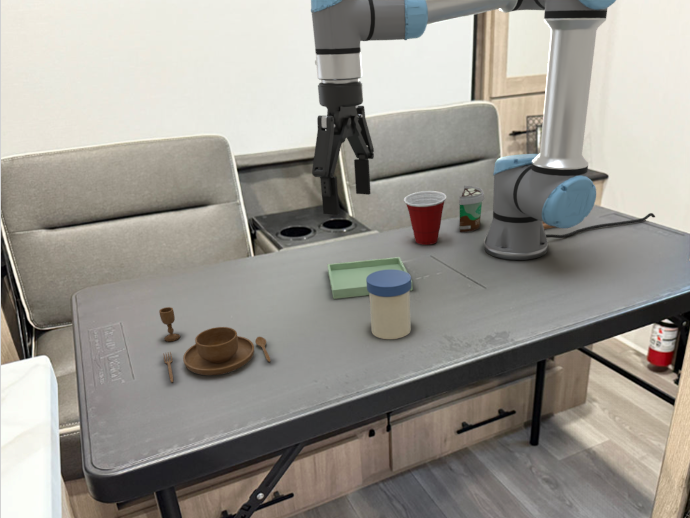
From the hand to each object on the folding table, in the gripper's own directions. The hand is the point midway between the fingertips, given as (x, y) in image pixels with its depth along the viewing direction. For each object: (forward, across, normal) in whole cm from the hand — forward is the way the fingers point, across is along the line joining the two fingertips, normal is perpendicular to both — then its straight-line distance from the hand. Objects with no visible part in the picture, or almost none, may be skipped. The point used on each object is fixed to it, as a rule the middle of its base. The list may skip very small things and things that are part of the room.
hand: (348, 203), depth 111 cm
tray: (+22, -15, -4) cm, 27 cm away
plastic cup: (+22, -44, 0) cm, 49 cm away
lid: (+12, +5, +9) cm, 16 cm away
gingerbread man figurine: (+22, -64, +28) cm, 74 cm away
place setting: (+23, +21, -18) cm, 36 cm away
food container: (+22, -58, +9) cm, 63 cm away
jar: (+22, +5, +10) cm, 25 cm away
